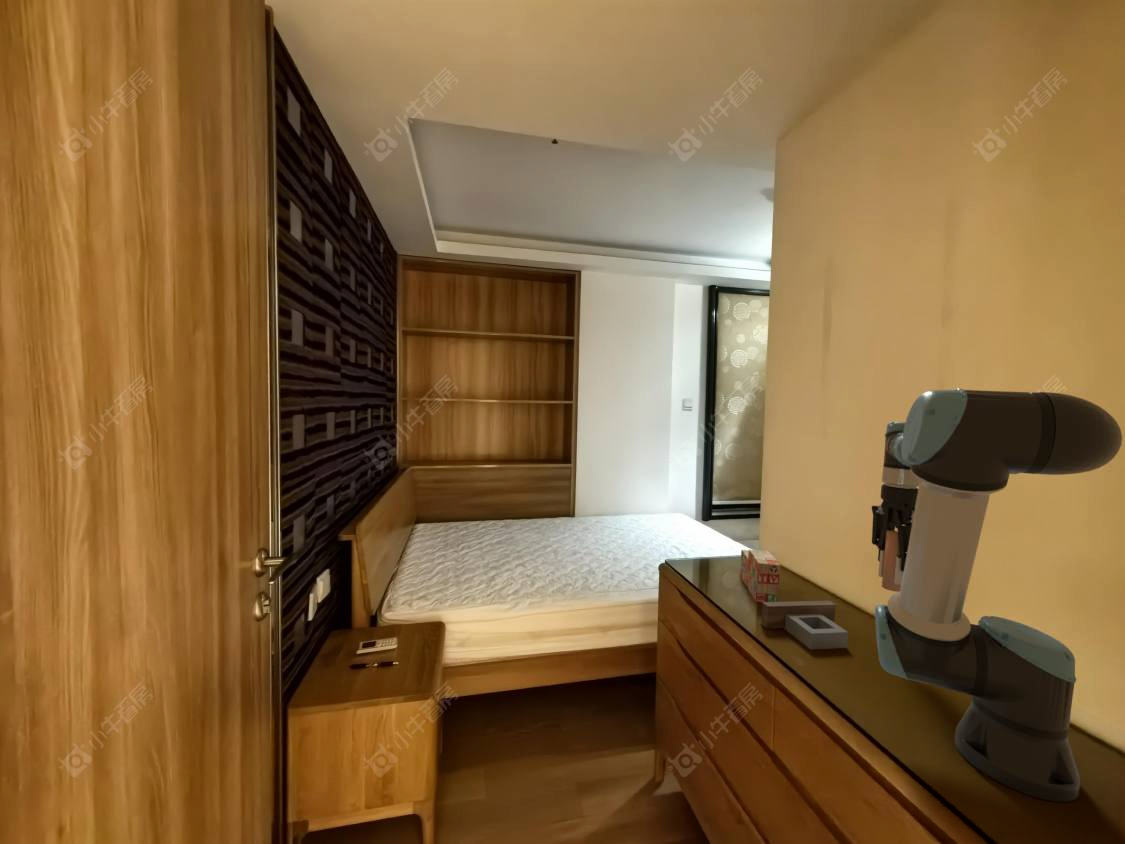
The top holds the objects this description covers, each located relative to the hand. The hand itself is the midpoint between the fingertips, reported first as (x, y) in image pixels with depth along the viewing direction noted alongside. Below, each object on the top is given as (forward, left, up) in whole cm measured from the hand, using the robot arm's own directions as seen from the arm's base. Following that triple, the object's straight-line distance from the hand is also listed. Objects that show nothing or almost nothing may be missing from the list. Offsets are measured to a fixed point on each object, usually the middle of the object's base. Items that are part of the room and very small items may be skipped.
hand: (892, 579), depth 115 cm
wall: (-3, +19, -17) cm, 26 cm away
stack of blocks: (+14, +36, -18) cm, 42 cm away
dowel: (0, 0, -2) cm, 2 cm away
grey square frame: (-8, +14, -17) cm, 24 cm away
